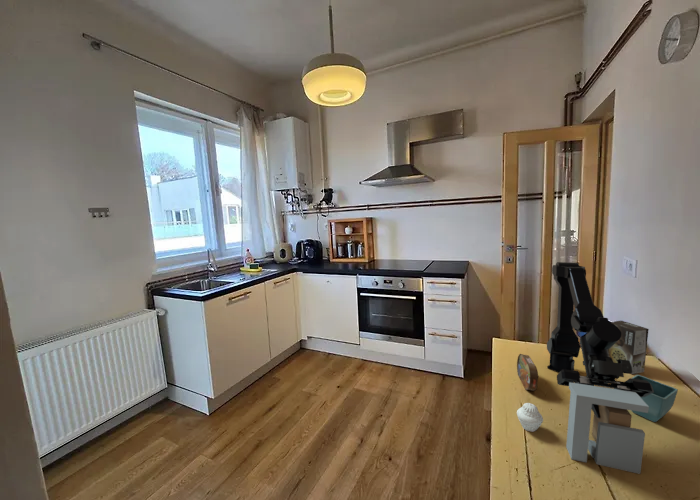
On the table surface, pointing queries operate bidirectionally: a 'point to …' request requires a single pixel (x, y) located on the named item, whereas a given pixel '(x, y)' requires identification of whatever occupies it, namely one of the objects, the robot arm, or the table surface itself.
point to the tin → (527, 372)
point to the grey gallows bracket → (604, 428)
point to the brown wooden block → (611, 418)
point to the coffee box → (630, 345)
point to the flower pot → (657, 400)
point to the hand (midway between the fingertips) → (609, 419)
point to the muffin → (529, 417)
